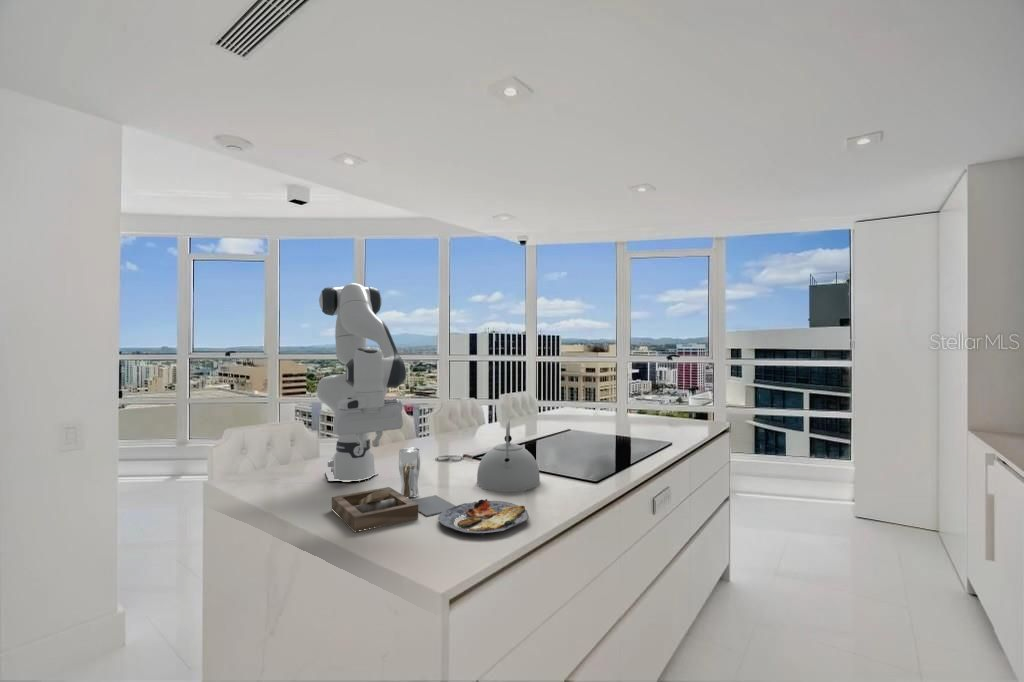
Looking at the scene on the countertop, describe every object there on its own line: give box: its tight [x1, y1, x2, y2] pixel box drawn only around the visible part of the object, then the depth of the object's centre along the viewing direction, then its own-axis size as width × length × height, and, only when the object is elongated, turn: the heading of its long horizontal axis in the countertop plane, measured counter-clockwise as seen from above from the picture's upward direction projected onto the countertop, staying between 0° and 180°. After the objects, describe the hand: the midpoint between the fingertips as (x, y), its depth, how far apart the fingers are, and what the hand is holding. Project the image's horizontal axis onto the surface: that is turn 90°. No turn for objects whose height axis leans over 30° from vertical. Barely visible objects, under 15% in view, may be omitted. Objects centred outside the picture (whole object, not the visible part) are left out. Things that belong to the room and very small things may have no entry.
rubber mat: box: [411, 494, 456, 518], centre depth 152 cm, size 16×11×1 cm
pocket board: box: [331, 486, 419, 532], centre depth 145 cm, size 22×18×4 cm
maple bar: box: [359, 490, 389, 505], centre depth 145 cm, size 14×4×2 cm, turn 35°
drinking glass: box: [398, 447, 421, 498], centre depth 163 cm, size 7×7×15 cm
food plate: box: [437, 498, 530, 535], centre depth 138 cm, size 25×23×4 cm
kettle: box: [476, 419, 541, 493], centre depth 177 cm, size 25×23×22 cm
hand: (369, 447), depth 148 cm, fingers closed
